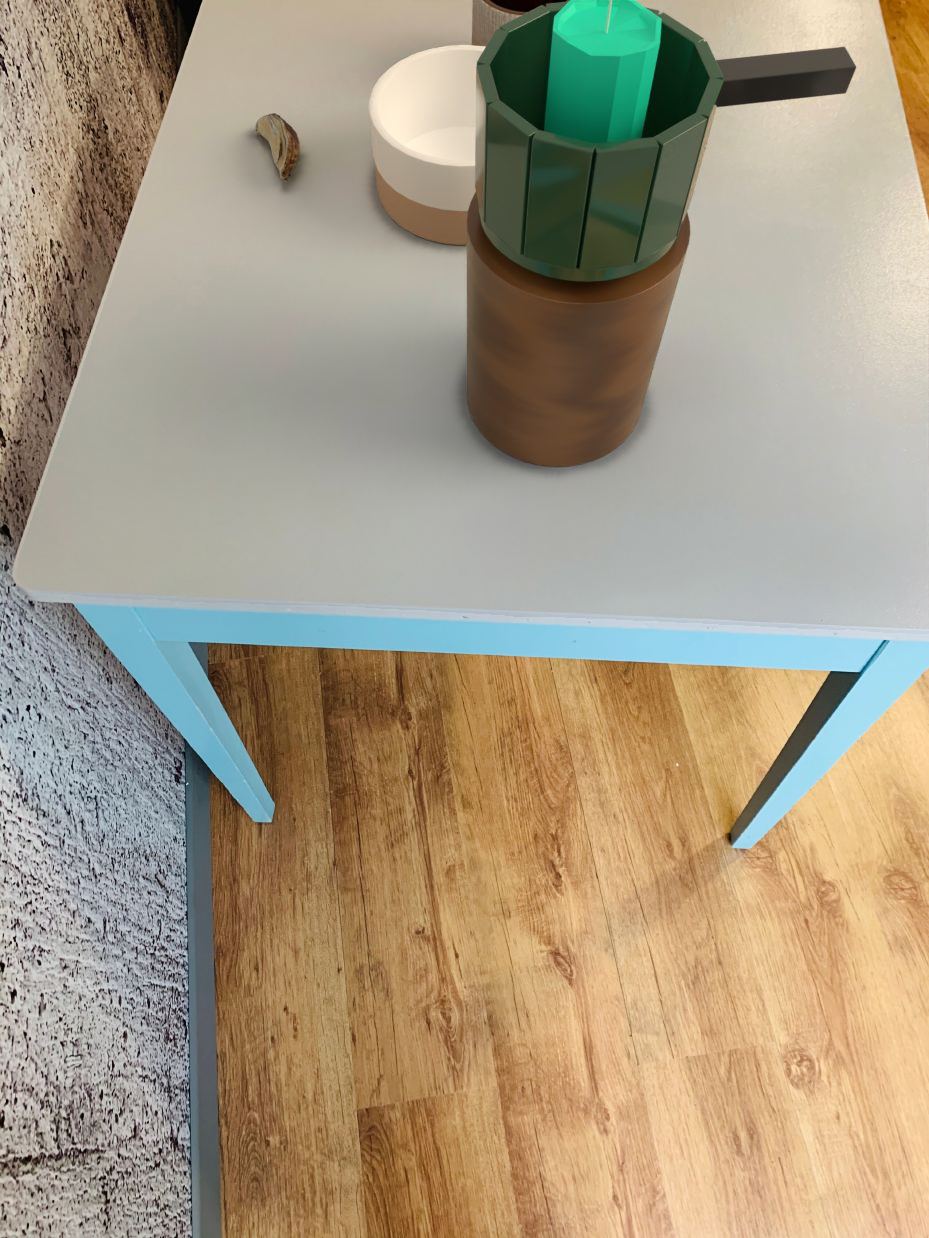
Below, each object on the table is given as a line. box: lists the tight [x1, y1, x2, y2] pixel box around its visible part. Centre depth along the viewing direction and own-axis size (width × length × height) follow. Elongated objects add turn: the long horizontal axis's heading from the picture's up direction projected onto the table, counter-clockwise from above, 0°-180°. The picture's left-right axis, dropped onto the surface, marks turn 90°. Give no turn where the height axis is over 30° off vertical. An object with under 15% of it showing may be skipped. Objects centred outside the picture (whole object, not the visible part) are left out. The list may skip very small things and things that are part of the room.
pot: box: [475, 2, 857, 282], centre depth 52 cm, size 22×14×9 cm, turn 99°
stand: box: [466, 192, 691, 468], centre depth 65 cm, size 15×15×18 cm
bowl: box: [368, 44, 485, 246], centre depth 81 cm, size 17×17×8 cm
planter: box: [471, 0, 570, 47], centre depth 87 cm, size 11×11×10 cm
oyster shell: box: [254, 112, 301, 184], centre depth 85 cm, size 6×4×10 cm
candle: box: [544, 0, 662, 144], centre depth 50 cm, size 6×6×12 cm
